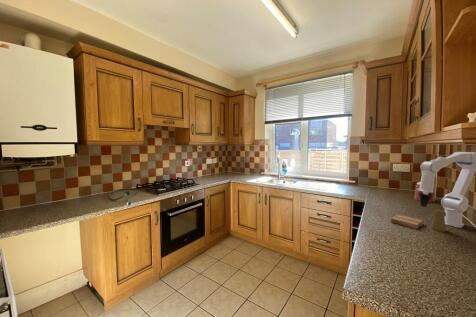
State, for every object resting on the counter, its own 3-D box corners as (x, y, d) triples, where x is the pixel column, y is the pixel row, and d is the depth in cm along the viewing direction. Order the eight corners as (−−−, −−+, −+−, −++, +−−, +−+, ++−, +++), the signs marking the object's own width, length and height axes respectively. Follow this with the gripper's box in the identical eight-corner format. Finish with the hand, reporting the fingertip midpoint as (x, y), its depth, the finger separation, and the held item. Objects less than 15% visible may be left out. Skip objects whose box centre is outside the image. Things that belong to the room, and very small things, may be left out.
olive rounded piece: (430, 226, 116) (431, 207, 116) (445, 228, 113) (446, 209, 112) (431, 229, 112) (432, 210, 111) (446, 232, 108) (448, 212, 107)
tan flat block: (398, 218, 129) (398, 214, 129) (422, 224, 119) (423, 220, 119) (390, 222, 122) (391, 218, 122) (416, 229, 112) (416, 224, 112)
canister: (437, 203, 160) (438, 181, 159) (416, 201, 167) (417, 180, 166) (432, 199, 171) (433, 179, 170) (412, 197, 178) (413, 178, 177)
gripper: (418, 180, 122) (415, 202, 123) (417, 181, 112) (413, 205, 112) (434, 182, 117) (430, 205, 118) (435, 184, 107) (431, 208, 108)
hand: (423, 205), depth 115 cm, fingers open, 7 cm apart
